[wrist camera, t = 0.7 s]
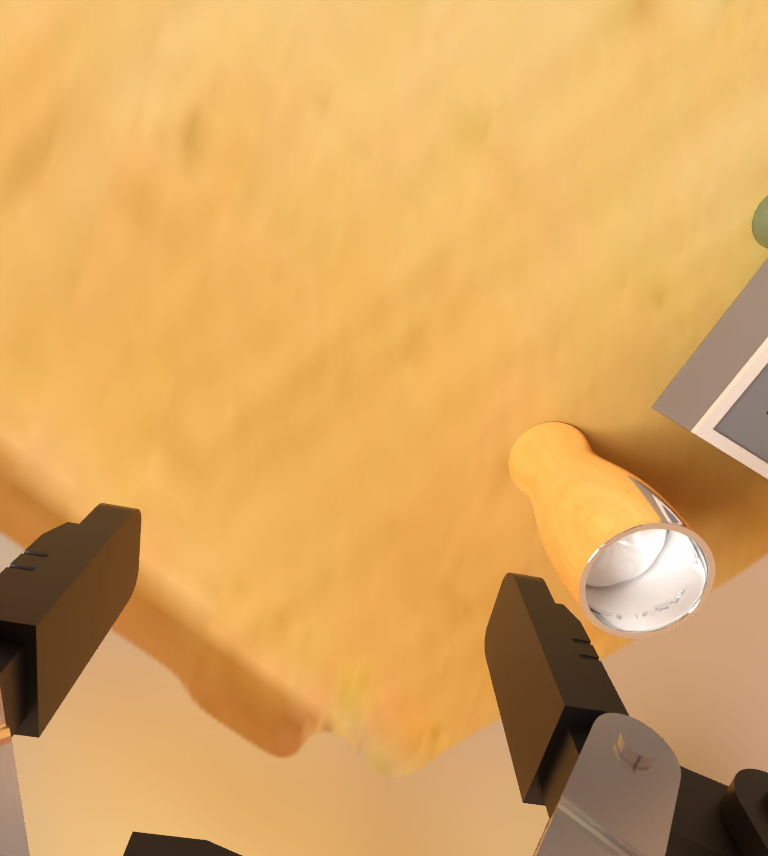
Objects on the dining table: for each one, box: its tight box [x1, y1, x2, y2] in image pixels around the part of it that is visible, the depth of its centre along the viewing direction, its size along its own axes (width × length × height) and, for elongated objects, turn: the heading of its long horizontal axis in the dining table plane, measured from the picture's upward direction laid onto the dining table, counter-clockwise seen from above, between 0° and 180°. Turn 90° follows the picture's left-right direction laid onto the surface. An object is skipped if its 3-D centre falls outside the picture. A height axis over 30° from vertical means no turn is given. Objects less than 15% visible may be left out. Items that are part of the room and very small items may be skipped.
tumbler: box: [508, 422, 715, 639], centre depth 33 cm, size 7×7×15 cm
